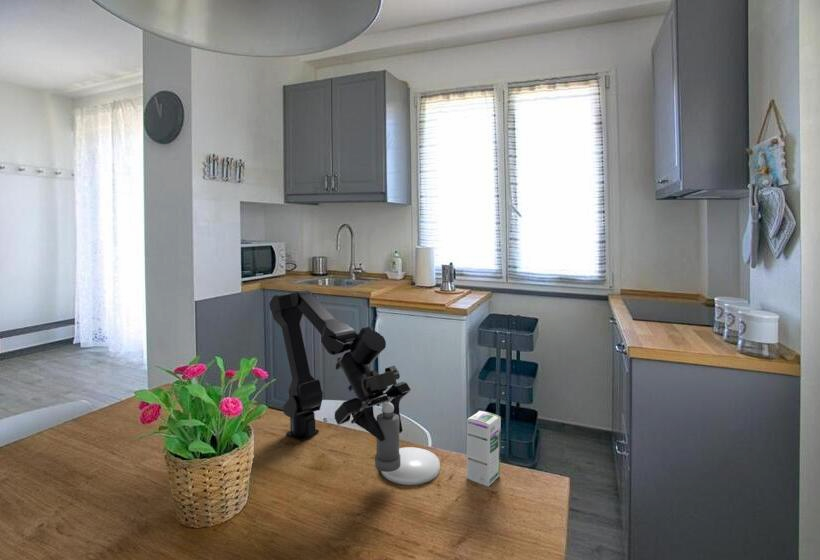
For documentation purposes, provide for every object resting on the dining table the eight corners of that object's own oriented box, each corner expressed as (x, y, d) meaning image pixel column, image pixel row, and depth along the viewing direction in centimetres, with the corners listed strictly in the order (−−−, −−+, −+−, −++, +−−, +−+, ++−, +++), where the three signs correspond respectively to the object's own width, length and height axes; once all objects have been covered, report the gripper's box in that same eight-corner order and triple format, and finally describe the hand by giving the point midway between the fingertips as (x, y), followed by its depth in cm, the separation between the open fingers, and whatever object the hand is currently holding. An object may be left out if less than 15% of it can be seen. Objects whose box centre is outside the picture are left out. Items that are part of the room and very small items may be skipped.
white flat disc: (368, 472, 101) (368, 466, 101) (402, 447, 113) (402, 442, 112) (419, 492, 93) (419, 485, 93) (449, 463, 105) (450, 457, 105)
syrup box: (488, 487, 95) (490, 424, 94) (465, 478, 99) (466, 417, 97) (500, 476, 100) (502, 415, 98) (477, 467, 103) (478, 409, 102)
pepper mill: (372, 470, 94) (372, 406, 92) (378, 457, 99) (378, 396, 98) (397, 473, 93) (397, 408, 91) (402, 459, 98) (403, 398, 97)
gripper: (342, 365, 89) (378, 434, 83) (405, 348, 103) (440, 406, 96) (320, 392, 96) (352, 457, 89) (382, 372, 109) (414, 428, 103)
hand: (392, 436), depth 94 cm, fingers closed on pepper mill, 5 cm apart
